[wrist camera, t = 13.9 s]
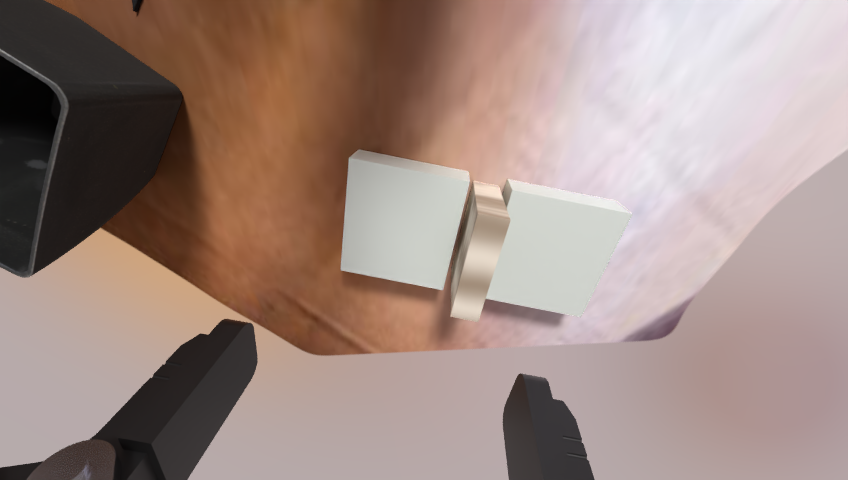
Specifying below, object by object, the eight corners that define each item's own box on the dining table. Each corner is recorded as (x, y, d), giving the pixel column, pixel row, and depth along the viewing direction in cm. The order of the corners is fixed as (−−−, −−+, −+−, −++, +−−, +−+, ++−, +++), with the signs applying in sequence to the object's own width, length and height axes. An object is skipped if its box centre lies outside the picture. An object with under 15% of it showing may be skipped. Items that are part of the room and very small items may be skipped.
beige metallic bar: (473, 180, 40) (477, 213, 31) (498, 185, 40) (510, 220, 31) (451, 267, 45) (450, 316, 36) (473, 271, 45) (478, 322, 36)
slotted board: (358, 149, 39) (349, 157, 36) (616, 200, 39) (632, 213, 36) (349, 254, 46) (340, 270, 42) (571, 297, 46) (580, 317, 42)
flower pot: (41, -47, 33) (-300, -139, 18) (222, 81, 37) (65, 93, 22) (19, 118, 41) (-232, 149, 26) (171, 210, 45) (29, 282, 30)
